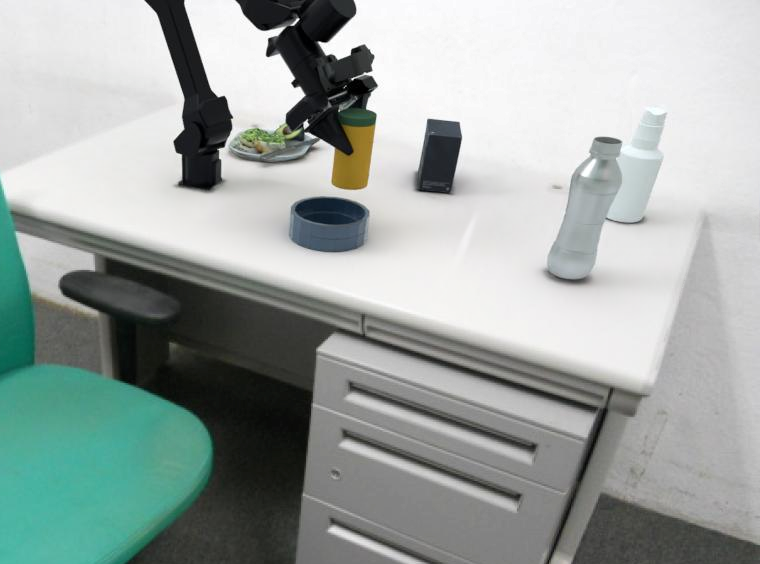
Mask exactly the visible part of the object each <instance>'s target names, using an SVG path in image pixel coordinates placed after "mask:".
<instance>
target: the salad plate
mask: <svg viewBox="0 0 760 564" xmlns="http://www.w3.org/2000/svg"><path fill="white" fill-rule="evenodd" d="M304 129H305V127H303V128H302V129H301V130H298V131H296V132H293V133H291V131H290V129H289V128H288V126H287V125H286V123H285V122H284V123H282V124H281V125H279V127H278V128H276V129H275V130H272V129H271V130H270V129H265V128H259V127H254V128H249V129H243V130H242V131H239V132H237V134H236V135H235V136H234V138H232V140H230V141H229V143H228V145H227V146H228V148H229V150H230V151H231V152H232V153H234V154H235V155H236V156H238V157H240V158H242V159H244V160H248V161H254V162H255V161H256V162H263V163H277V162H287V161H291V160H296V159H300V157H303V156H304V155H305V154H306V153H307V152H308V150H309V149H310V148H311V147H312V146H314V145H315V144H317V143H318V142H320V141H321V139H319V138H318V137H314V138H312V137H311V136H309V135H308V134H306V133H305V132H304Z"/></svg>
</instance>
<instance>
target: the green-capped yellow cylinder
mask: <svg viewBox="0 0 760 564" xmlns="http://www.w3.org/2000/svg"><path fill="white" fill-rule="evenodd" d="M338 118H339V121H340V123H341V125H342V127H343V129H344V131H345V133H346V135H347V137H348V139H349V141H350V143H351V145H352V148H353V150H354V152H353V153H352V154H351V155H350V156H347V155H346V154H344V153H343V152H341V151H339V150H338V149H336V148H335V147H334V152H333V153H334V154H333V162H332V163H333V164H332V173H331V182H330V183H331V185H332V186H334V187H335V188H336V189H337V188H338V189H341V190H347V191H358V190H359V191H360V190H363V189H365V188H367V186H368V184H369V179H370V178H369V177H370V171H371V170H370V169H371V162H372V154H373V147H374V142H373V141H374V140H375V131H376V124H377V118H378V114H377V113H376V112H375V111H373V110H370V109H367V108H366V109H359V108H349V109H343V110H341V111H340V110H339V116H338Z"/></svg>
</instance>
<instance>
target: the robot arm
mask: <svg viewBox="0 0 760 564" xmlns="http://www.w3.org/2000/svg"><path fill="white" fill-rule="evenodd" d="M143 1H144V2H145V3H146V4H147V6H149V8H151V9H152V10H153V12H155V14H156V16H157V18H158V21H159V24H160V28H161V30H162V33H163V37H164V39H165V43H166V45H167V49H168V52H169V55H170V58H171V61H172V64H173V67H174V70H175V73H176V74H175V75H176V77H177V80H178V83H179V86H180V90H181V92H182V95H183V106H182V113H181V121H182V125H183V130H182V131H181V132H180V133H179V134H178V135H177V136H176V137H175V138H174V139H173V141H172V143H173V148H174V150H175V153H176V154H178V155H181V180H180V181H178V182H177V185H178V186H179V187H186V188H190V189H191V188H192V189H196V190H203V191H211V190H212V189H214V188H215V187H216V186H217V185H218V184H220V183H221V182H222V181H223V177H222V158H220V149H224V148H225V147H226V144H227V141H228V139H229V137H230V136H231V133H232V131H233V121H232V119H234V116H233V115H232V113H231V110H230V107H229V102H228V99H227V97H226V96H225V95H222V96H218V95H217V94H216V93H215V92H214V91H213V90H212V88H211V85H210V82H209V79H208V75H207V72H206V69H205V65H204V63H203V60H202V56H201V54H200V51H199V47H198V44H197V41H196V37H195V34H194V31H193V27H192V25H191V22H190V19H189V15H188V12H187V9H186V5H185V2H186V0H143ZM234 1H235V2H236V3H237V4H238V5H239V7H240V10H241V12H242V14H243V16H244V17H245V18H246V19H247V21H249V22H250V23H251V24H252V25H253V27H255V28H256V29H257V30H258V31H261V32H268V31H273V30H278V29H282V28H283V29H282V31H280V33H279V34H277V35H274V36H270V37H268V38H267V47H266V49H265V57H267V58H271V57H274V56H278V55H279V56H280V57H281V58H282V60H283V62H284V63H285V65H286V68H287V69H288V70H289V71H290V73H291V75H292V76H293V78H294V79H293V80H292V81H291V82H290V84H291V86H292V88H293V89H297V88H300V89H301V91H302V93H303V94H304V96H303V97H302V98H301V99H300V100H299V101H298V102H297V103H296V104H295V105H294V106H292V108H290V109H289V110H288V111H287V112H286V113H285V120H284V121H285V122H284V123H286V125H287V126H288V128H289V129H290V131H291V133H293V132H296V131H298V130H301V129H302V128H303V127H304V126H305V125H304V123H306V122H307V124H308V126H307V127H304V132H305V134H310V135H311V136H313V137H315V138H319V139H320V141H323V142H324V143H327V144H328V145H330V146H331V147H333V148H334V149H335V148H336V149H338V150H339V151H341V152H343V153H344V154H346V155H347V156H350V155H351V154H352V153H353V152H354V150H353V148H352V145H351V143H350V141H349V139H348V137H347V135H346V133H345V131H344V129H343V127H342V125H341V123H340V121H339V118H338V116H339V111H341V110H343V109H349V108H359V109H366V110H367V106H368V102H369V99H370V98H371V96H372V93H374V91H375V90H376V89H378V87H379V85H378V83H377V81H376V80H375V78H374V76H373V75H369V74H368V73H372V72H373V71H374V70H373V66H372V65H373V62H374V60H375V54H373V53H372V52H371V49H370V48H368V46H367V45H366V44H361V45H358V46H356V47H352V48H351V49H350V55H347V56H344V57H342V58H339V59H338V58H337V57H336V55H335V54H333V53H330V54H327V53H325V51H324V49H323V48H322V46H321V44H322V43H323V44H328V43H330V41H332V40H333V39H334V37H336V36H337V35H338V33H340V31H342V29H343V28H344V27H345V26H346V25H348V24H349V22H350V21H351V20H352V19H353V18H355V16H356V14H357V4H356V2H355V0H234ZM320 43H321V44H320ZM373 143H375V142H374V140H373Z"/></svg>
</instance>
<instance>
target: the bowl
mask: <svg viewBox="0 0 760 564" xmlns="http://www.w3.org/2000/svg"><path fill="white" fill-rule="evenodd" d="M289 215H290V216H289V228H288V229H289V230H288V237H289V238H290V240H291V241H292V242H294V243H295V244H297V245H299V246H300V247H303V248H305V249H309V250H312V251H318V252H330V253H335V252H337V253H338V252H347V251H351V250H355V249H358V248H360V247H362V246H363V245H364V244H365V243H366V241H367V240H368V239H367V238H368V231H369V224H370V217H371V215H370V210H369V209H368V208H367V206H366V205H364V204H363V203H360V202H358V201H356V200H352V199H349V198H344V197H339V196H327V195H326V196H321V195H319V196H311V197H305V198H301V199H299V200H298V201H295V202H294V203H293V204H292V205H291V206H290V214H289Z"/></svg>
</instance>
